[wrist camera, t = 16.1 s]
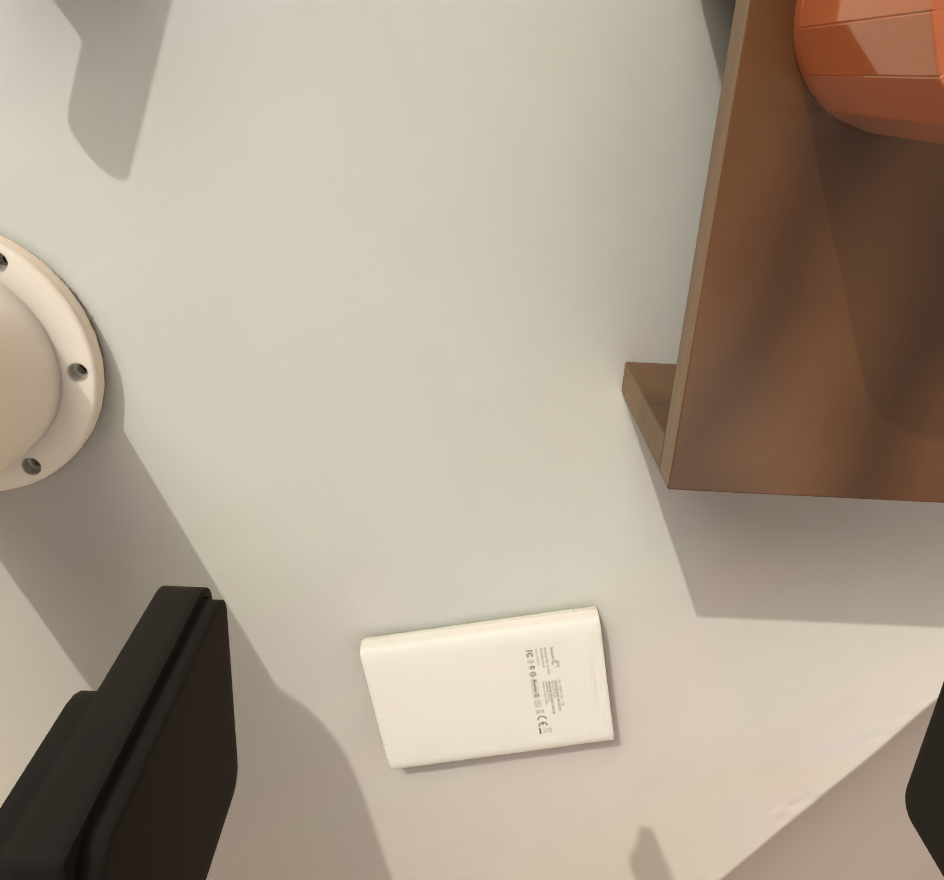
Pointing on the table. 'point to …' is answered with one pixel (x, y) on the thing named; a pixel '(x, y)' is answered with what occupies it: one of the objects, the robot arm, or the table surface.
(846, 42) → the cup
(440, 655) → the hard drive
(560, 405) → the table surface
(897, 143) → the dark wooden box
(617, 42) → the table surface
